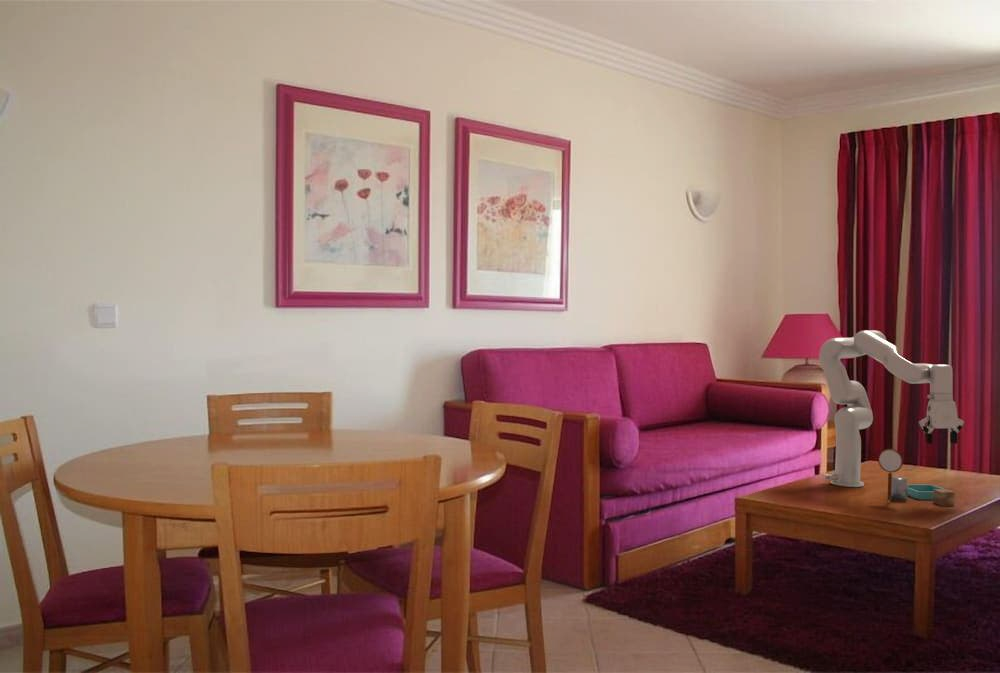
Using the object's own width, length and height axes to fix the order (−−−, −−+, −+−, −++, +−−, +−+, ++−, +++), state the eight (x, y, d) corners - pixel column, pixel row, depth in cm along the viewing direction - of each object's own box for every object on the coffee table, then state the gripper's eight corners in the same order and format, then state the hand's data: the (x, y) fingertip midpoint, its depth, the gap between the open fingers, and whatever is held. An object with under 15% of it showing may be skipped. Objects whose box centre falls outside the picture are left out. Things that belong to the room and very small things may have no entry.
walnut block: (941, 505, 325) (941, 492, 325) (933, 502, 330) (933, 489, 330) (954, 505, 326) (954, 492, 326) (946, 502, 331) (946, 489, 331)
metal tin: (895, 501, 332) (895, 479, 331) (886, 497, 338) (887, 476, 337) (910, 501, 332) (911, 479, 332) (901, 497, 338) (902, 476, 338)
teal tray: (917, 499, 335) (918, 491, 335) (898, 492, 348) (898, 484, 348) (952, 499, 336) (952, 491, 336) (931, 492, 350) (931, 484, 349)
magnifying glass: (902, 504, 326) (903, 450, 325) (900, 505, 325) (902, 450, 324) (877, 500, 332) (879, 447, 331) (876, 501, 330) (877, 447, 330)
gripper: (925, 398, 327) (925, 445, 327) (969, 398, 329) (969, 444, 329) (913, 397, 334) (913, 442, 334) (956, 396, 336) (956, 441, 336)
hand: (941, 443), depth 331 cm, fingers open, 9 cm apart
